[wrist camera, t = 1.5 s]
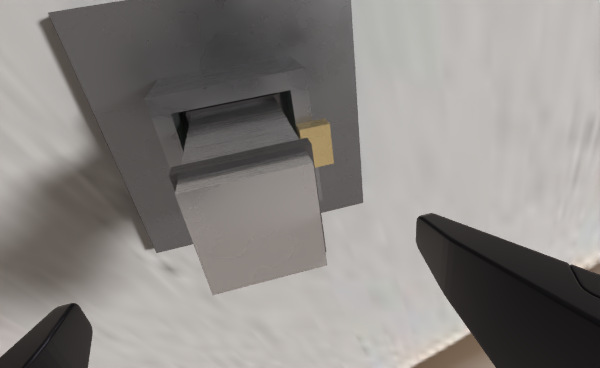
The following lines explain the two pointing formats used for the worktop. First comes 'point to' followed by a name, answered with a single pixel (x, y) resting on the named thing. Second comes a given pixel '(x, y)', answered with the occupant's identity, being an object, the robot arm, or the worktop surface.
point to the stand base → (214, 86)
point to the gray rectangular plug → (249, 194)
